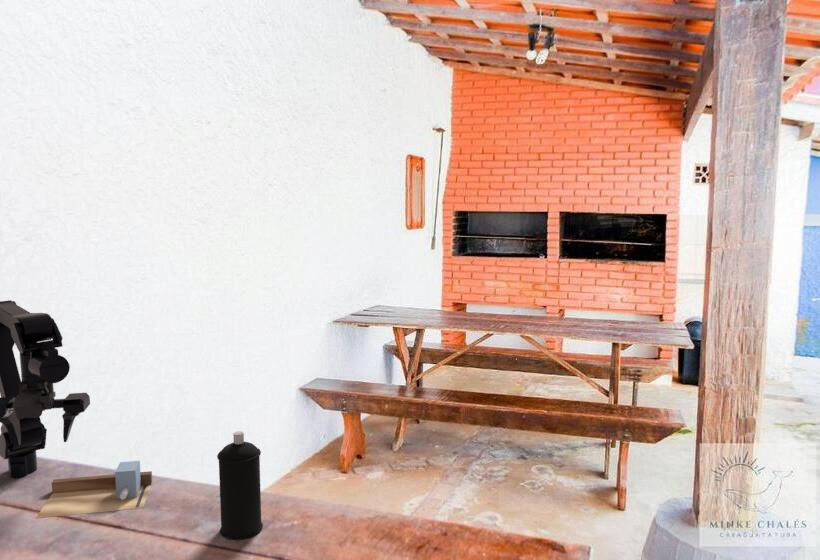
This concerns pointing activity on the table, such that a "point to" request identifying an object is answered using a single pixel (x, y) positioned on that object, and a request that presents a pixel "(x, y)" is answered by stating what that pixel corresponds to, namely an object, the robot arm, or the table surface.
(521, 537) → the table surface
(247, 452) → the aerosol can
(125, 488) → the block
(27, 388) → the robot arm
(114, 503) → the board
